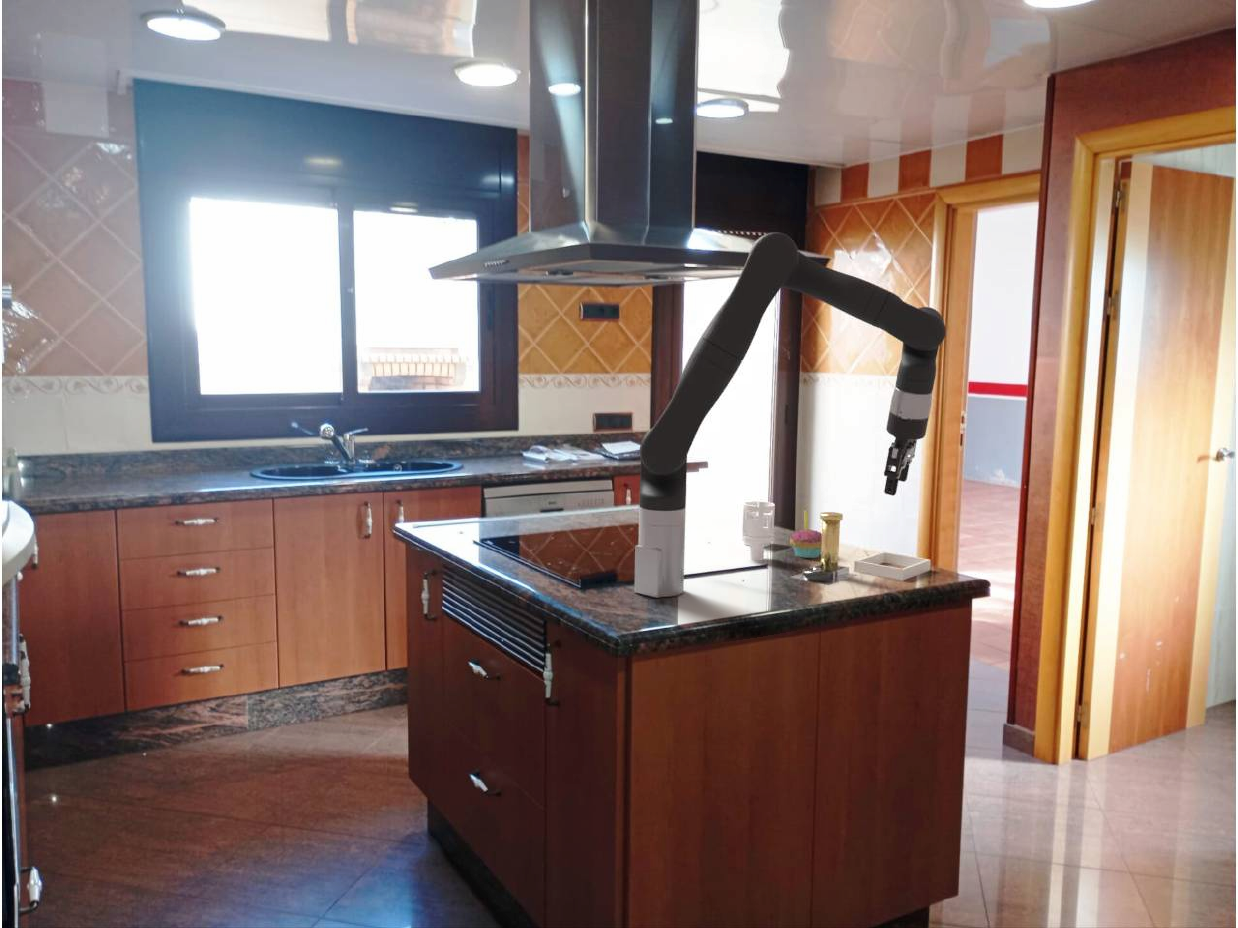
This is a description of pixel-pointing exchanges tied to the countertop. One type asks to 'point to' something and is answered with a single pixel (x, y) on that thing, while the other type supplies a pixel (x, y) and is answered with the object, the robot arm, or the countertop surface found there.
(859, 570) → the tray
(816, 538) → the cupcake
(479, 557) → the countertop surface
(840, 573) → the tensioner plate
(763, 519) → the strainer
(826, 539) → the gold mushroom peg
